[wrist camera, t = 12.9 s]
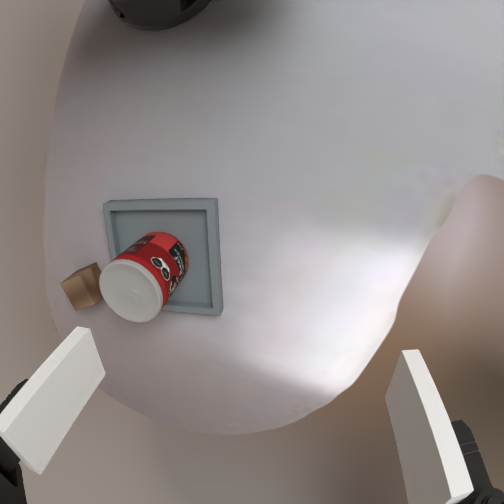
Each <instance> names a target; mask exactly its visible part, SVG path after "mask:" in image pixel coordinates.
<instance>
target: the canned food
mask: <svg viewBox="0 0 504 504" xmlns="http://www.w3.org/2000/svg"><path fill="white" fill-rule="evenodd" d="M187 270H188V254H187V251H186V249H185V247H184V246H183V244H182V243H181V242H180V241H179V240H178V239H177V238H176V237H175V236H173V235H171V234H169V233H166V232H151V233H148V234H146V235H144V236H143V237H142V238H140V239H139V240H138V241H136V242H135V243H134V244H132V245H131V246H130V247H128V248H127V249H126V250H125V251H123V252H122V253H121V254H119V255H118V256H117V257H116V258H114V259H113V260H112V261H111V262H110V263H108V264H107V265H106V267H105V268H104V269H103V270H102V272H101V274H100V279H99V286H100V291H101V294H102V296H103V298H104V300H105V302H106V303H107V305H108V306H109V307H110V308H111V309H112V310H113V311H114V312H115V313H116V314H117V315H119V316H120V317H122V318H124V319H126V320H128V321H131V322H135V323H144V322H148V321H151V320H152V319H153V318H155V317H156V316H157V315H158V313H159V312H160V311H161V309H162V308H163V307H164V305H165V304H166V302H167V301H168V299H169V298H170V296H171V295H172V294H173V292H174V291H175V289H176V288H177V286H178V285H179V283H180V282H181V280H182V279H183V278H184V276H185V275H186V272H187Z"/></svg>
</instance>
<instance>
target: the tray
mask: <svg viewBox="0 0 504 504" xmlns="http://www.w3.org/2000/svg"><path fill="white" fill-rule="evenodd" d="M103 209H104V217H105V224H106V231H107V237H108V243H109V249H110V255H111V261H112V260H113V259H114V258H116V257H117V256H118V255H119V254H121V253H122V252H123V251H125V250H126V249H127V248H128V247H130V246H131V245H132V244H134V243H135V242H136V241H138V240H139V239H140V238H142V237H143V236H144V235H146V234H148V233H151V232H166V233H169V234H171V235H173V236H175V237H176V238H177V239H178V240H179V241H180V242H181V243H182V244H183V246H184V247H185V249H186V251H187V254H188V270H187V272H186V275H185V276H184V278H183V279H182V280H181V282H180V283H179V285H178V286H177V288H176V289H175V291H174V292H173V294H172V295H171V296H170V298H169V299H168V301H167V302H166V304H165V305H164V307H163V308H162V309H161V310H163V311H173V312H184V313H196V314H208V315H221V313H222V310H223V295H222V278H221V260H220V239H219V217H218V198H175V199H138V200H113V201H108V202H106V203H104V204H103Z"/></svg>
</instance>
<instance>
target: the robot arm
mask: <svg viewBox="0 0 504 504" xmlns="http://www.w3.org/2000/svg"><path fill="white" fill-rule="evenodd" d="M108 1H109V3H110V5H111V7H112V9H113V11H114V12H115V14H116V15H117V16H118V17H119V18H120V19H121V20H122V21H124V22H125V23H127V24H129V25H131V26H133V27H135V28H138V29H142V30H161V29H166V28H169V27H173V26H175V25H178V24H180V23H182V22H184V21H186V20H188V19H190V18H191V17H193V16H194V15H196V14H197V13H198V12H200V11H201V10H202V9H203V8H204V7H205V6H206V5H207V4H208V3H209V2H210V0H108ZM105 374H106V373H105V371H104V368H103V365H102V363H101V360H100V357H99V354H98V352H97V349H96V346H95V343H94V340H93V337H92V334H91V331H90V329H88V328H83V327H78V326H77V327H76V328H75V329H74V330H73V331H72V332H71V333H70V335H69V336H68V337H67V338H66V339H65V340H64V341H63V342H62V343H61V344H60V345H59V346H58V348H57V349H56V350H55V351H54V352H53V353H52V354H51V355H50V356H49V357H48V358H47V360H46V361H45V362H44V363H43V364H42V365H41V366H40V367H39V369H38V370H37V371H36V372H35V373H34V374H33V375H32V377H31V378H30V379H25V380H24V381H22V382H21V383H19V384H18V385H17V386H16V387H15V388H14V390H13V391H12V392H11V394H9V395H8V397H7V398H6V400H4V401H3V402H2V404H1V405H0V504H27V501H26V496H25V490H24V485H23V478H22V470H21V467H20V465H19V464H18V463H19V461H20V460H21V461H22V462H23V463H24V464H25V465H26V466H27V467H28V468H29V469H31V470H33V471H34V472H36V473H38V474H40V475H41V474H42V472H43V471H44V469H45V467H46V466H47V464H48V462H49V461H50V459H51V458H52V456H53V454H54V452H55V451H56V449H57V448H58V446H59V445H60V443H61V441H62V440H63V438H64V437H65V435H66V433H67V432H68V430H69V429H70V427H71V426H72V424H73V423H74V421H75V419H76V418H77V416H78V415H79V413H80V412H81V410H82V408H83V407H84V405H85V404H86V402H87V401H88V400H89V398H90V397H91V395H92V394H93V392H94V391H95V389H96V388H97V386H98V385H99V383H100V382H101V380H102V379H103V377H104V376H105ZM385 399H386V403H387V407H388V410H389V414H390V418H391V422H392V426H393V430H394V435H395V439H396V443H397V448H398V452H399V457H400V461H401V466H402V471H403V476H404V481H405V486H406V492H407V498H408V503H409V504H504V493H503V492H502V491H501V490H499V489H496V488H493V486H492V484H491V483H490V480H489V477H488V474H487V471H486V468H485V465H484V463H483V460H482V457H481V455H480V452H478V447H477V444H476V443H475V439H474V437H473V434H472V432H471V430H470V428H469V427H468V426H467V425H466V424H465V423H464V422H463V421H462V420H458V421H453V422H450V420H449V418H448V415H447V412H446V410H445V408H444V405H443V403H442V400H441V398H440V396H439V393H438V391H437V389H436V386H435V384H434V382H433V380H432V377H431V375H430V373H429V371H428V369H427V366H426V364H425V362H424V360H423V358H422V356H421V354H420V352H419V350H404V351H403V350H402V352H401V355H400V358H399V361H398V363H397V366H396V369H395V372H394V375H393V378H392V380H391V383H390V386H389V388H388V391H387V394H386V396H385Z"/></svg>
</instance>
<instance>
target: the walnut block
mask: <svg viewBox="0 0 504 504" xmlns="http://www.w3.org/2000/svg"><path fill="white" fill-rule="evenodd" d="M100 274H101V271H100V269H99V267H98V265H97V263H93V264H91V265H89V266H86V267H84V268H82V269H80V270H77V271H76V272H75V273H73V274H72V275H71V276H69V277H68V278H67V279H66V280H64V281H63V282H62V283H60V284H61V286H62V287H63V289H64V291H65V293H66V295H67V297H68V298H69V300H70V302H71V304H72V305H73V307H74V309H75V310H79V309H83V308H86V307H89V306H92V305H95V304H96V303H97V302H98V301H99V300H100V299H101V298H102V297H103V296H102V294H101V291H100V286H99V279H100Z"/></svg>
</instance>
